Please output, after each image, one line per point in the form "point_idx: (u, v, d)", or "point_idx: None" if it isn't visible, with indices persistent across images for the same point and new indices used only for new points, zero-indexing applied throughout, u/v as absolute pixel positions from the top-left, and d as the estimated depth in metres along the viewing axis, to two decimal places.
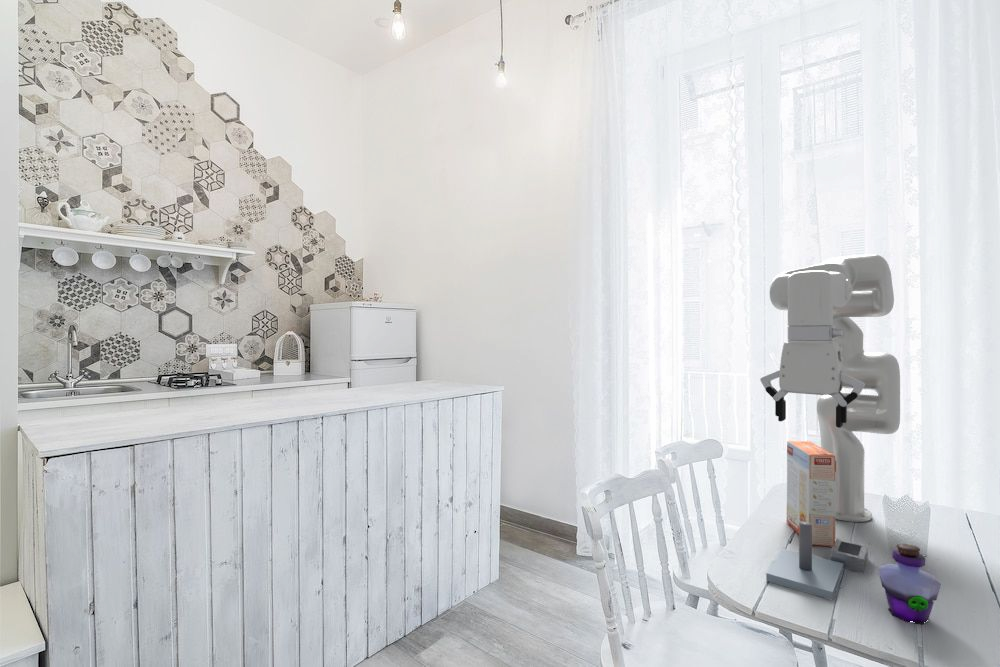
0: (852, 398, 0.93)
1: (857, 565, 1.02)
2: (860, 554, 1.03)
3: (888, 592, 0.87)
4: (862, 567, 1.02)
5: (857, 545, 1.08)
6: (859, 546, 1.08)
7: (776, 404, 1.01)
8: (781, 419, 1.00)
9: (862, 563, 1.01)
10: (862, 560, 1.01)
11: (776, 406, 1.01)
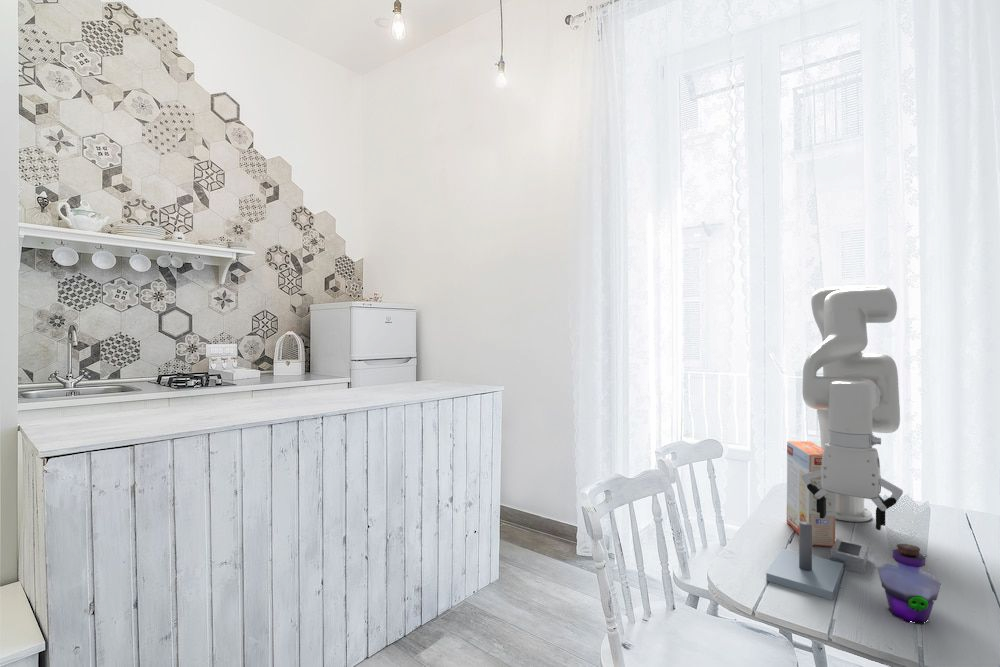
0: (891, 503, 1.00)
1: (857, 565, 1.02)
2: (860, 554, 1.03)
3: (888, 592, 0.87)
4: (862, 567, 1.02)
5: (857, 545, 1.08)
6: (859, 546, 1.08)
7: (817, 501, 1.08)
8: (822, 516, 1.07)
9: (862, 563, 1.01)
10: (862, 560, 1.01)
11: (817, 503, 1.08)
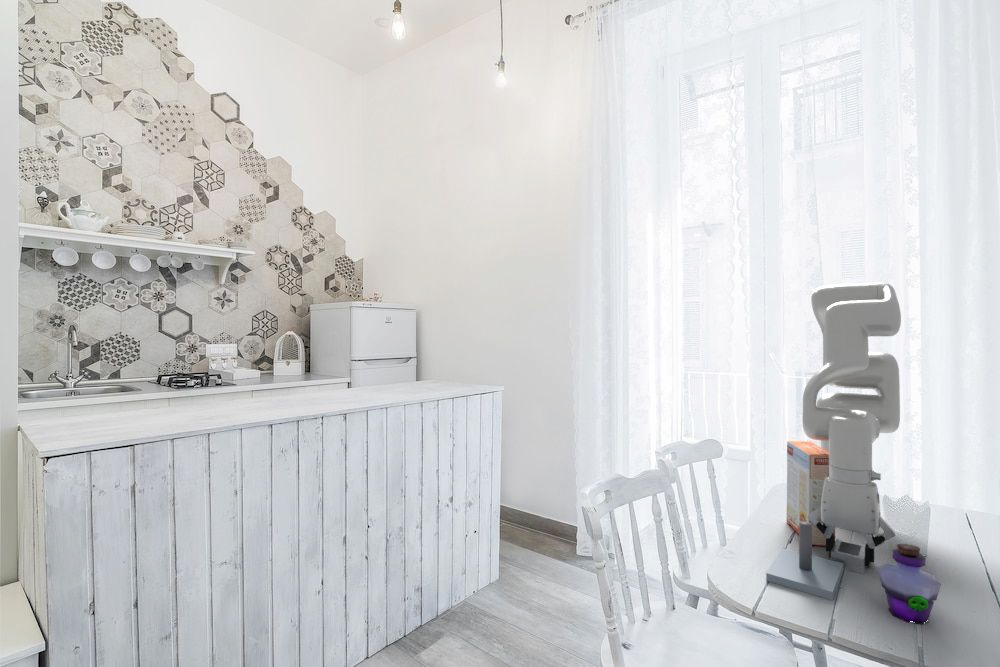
0: (880, 541, 1.02)
1: (857, 565, 1.02)
2: (860, 554, 1.03)
3: (888, 592, 0.87)
4: (862, 567, 1.01)
5: (857, 545, 1.08)
6: (859, 546, 1.08)
7: (827, 540, 1.08)
8: None
9: (862, 563, 1.01)
10: (862, 560, 1.01)
11: (827, 542, 1.08)
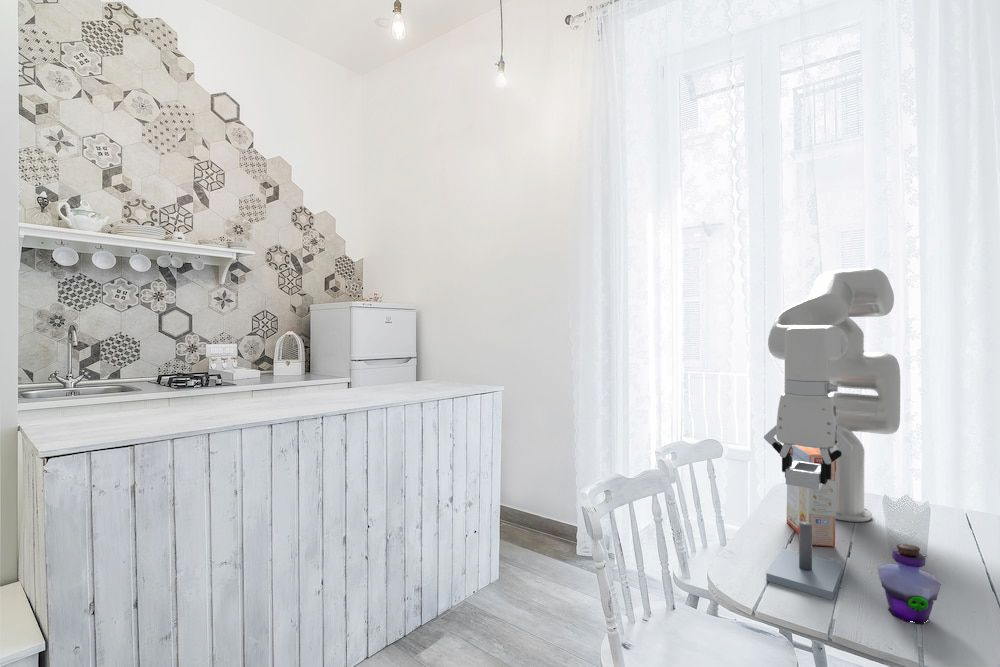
0: (836, 456, 0.97)
1: (812, 481, 0.96)
2: (816, 471, 0.98)
3: (888, 592, 0.87)
4: (817, 483, 0.96)
5: (815, 465, 1.02)
6: (817, 466, 1.02)
7: (783, 460, 1.03)
8: None
9: (817, 478, 0.96)
10: (817, 476, 0.96)
11: (783, 462, 1.03)
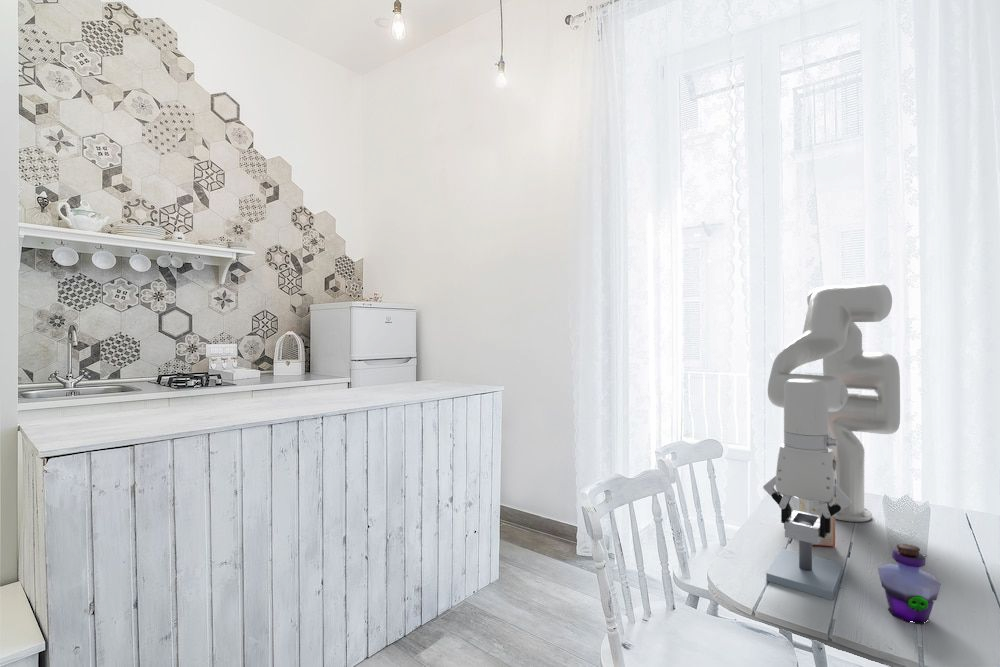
0: (835, 511, 0.97)
1: (811, 535, 0.97)
2: (815, 524, 0.98)
3: (888, 592, 0.87)
4: (816, 537, 0.96)
5: (814, 516, 1.02)
6: (816, 517, 1.02)
7: (782, 511, 1.03)
8: None
9: (816, 533, 0.96)
10: (817, 530, 0.96)
11: (782, 513, 1.03)
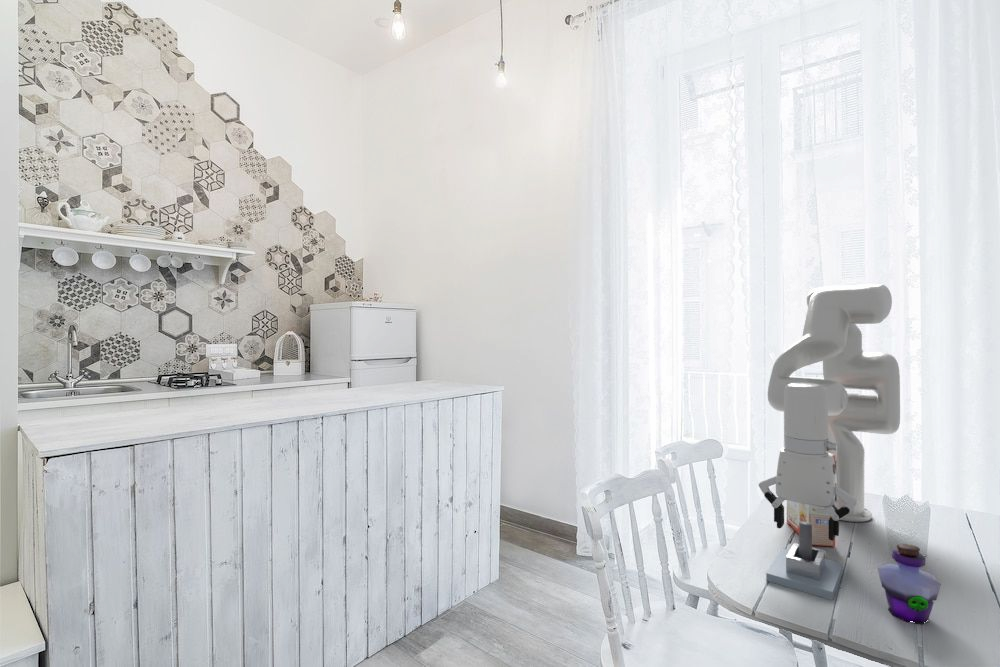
0: (844, 513, 0.96)
1: (812, 571, 0.97)
2: (816, 560, 0.98)
3: (888, 592, 0.87)
4: (818, 573, 0.96)
5: (814, 550, 1.03)
6: (816, 551, 1.02)
7: (775, 510, 1.04)
8: (779, 526, 1.03)
9: (818, 569, 0.96)
10: (818, 566, 0.96)
11: (775, 512, 1.04)
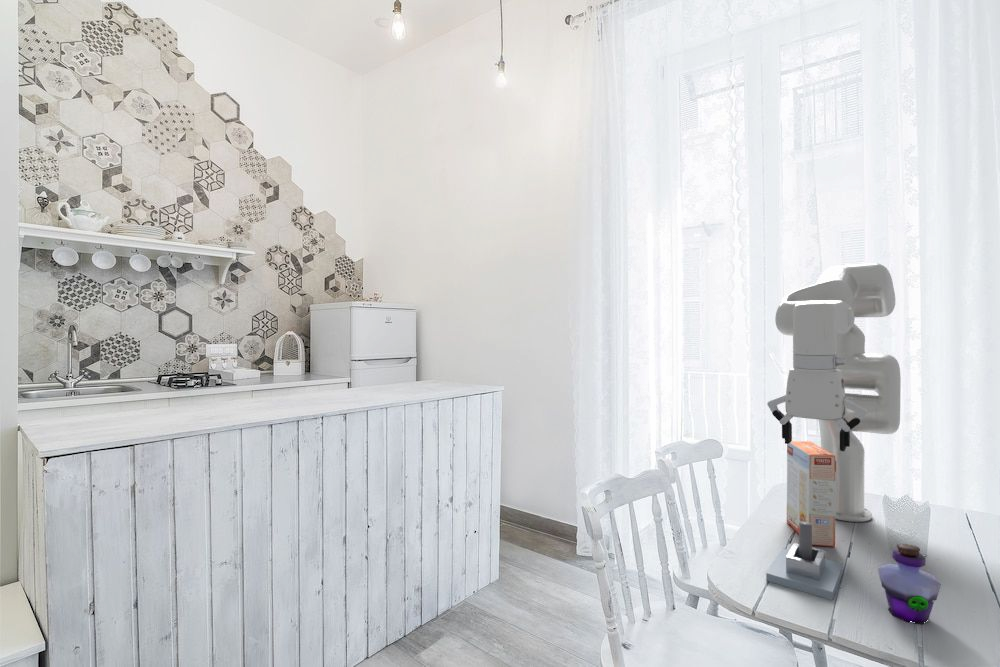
0: (855, 424, 0.98)
1: (812, 571, 0.97)
2: (816, 560, 0.98)
3: (888, 592, 0.87)
4: (818, 573, 0.96)
5: (814, 550, 1.03)
6: (816, 551, 1.02)
7: (782, 427, 1.07)
8: (787, 442, 1.05)
9: (818, 569, 0.96)
10: (818, 566, 0.96)
11: (782, 429, 1.07)
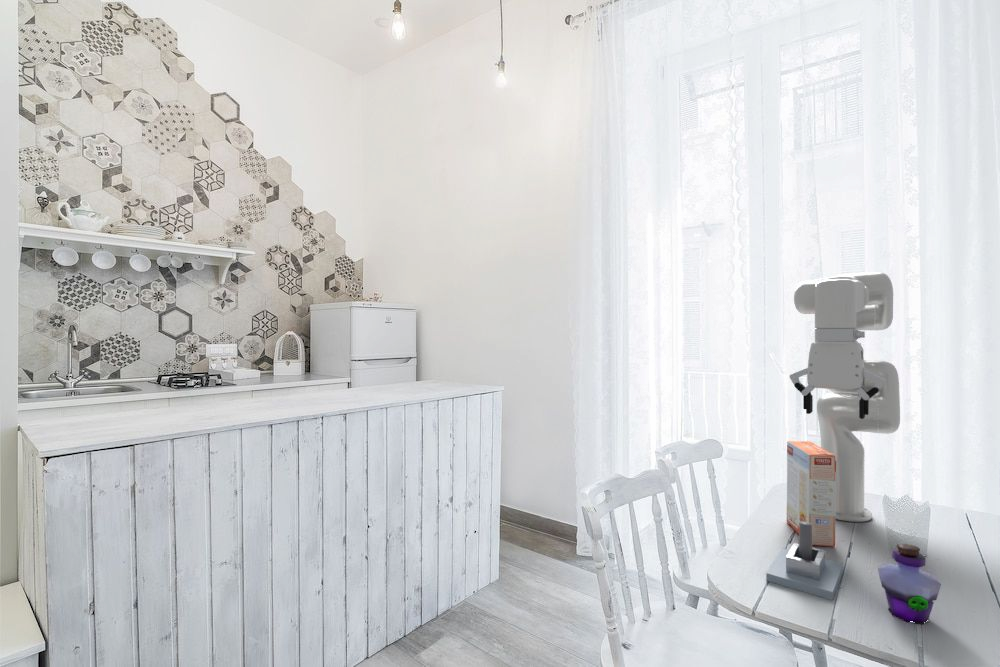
0: (874, 392, 1.04)
1: (812, 571, 0.97)
2: (816, 560, 0.98)
3: (888, 592, 0.87)
4: (818, 573, 0.96)
5: (814, 550, 1.03)
6: (816, 551, 1.02)
7: (804, 398, 1.13)
8: (809, 412, 1.12)
9: (818, 569, 0.96)
10: (818, 566, 0.96)
11: (804, 400, 1.13)
